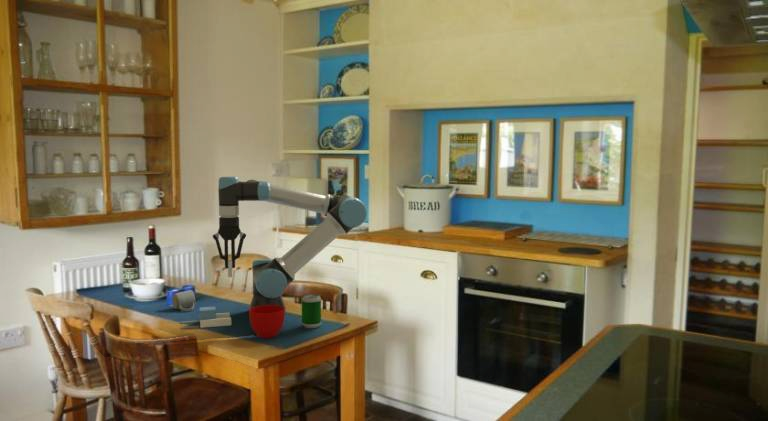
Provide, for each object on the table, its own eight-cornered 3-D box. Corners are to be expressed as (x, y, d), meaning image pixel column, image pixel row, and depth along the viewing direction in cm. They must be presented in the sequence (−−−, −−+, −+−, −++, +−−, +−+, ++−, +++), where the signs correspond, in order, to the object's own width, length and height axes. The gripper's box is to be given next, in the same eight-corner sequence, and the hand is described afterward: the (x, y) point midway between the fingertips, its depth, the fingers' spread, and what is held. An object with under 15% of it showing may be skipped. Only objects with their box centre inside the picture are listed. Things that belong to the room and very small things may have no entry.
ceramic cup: (265, 326, 246) (264, 301, 245) (292, 335, 234) (291, 308, 233) (236, 333, 237) (235, 307, 236) (263, 343, 225) (262, 315, 224)
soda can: (324, 327, 245) (324, 296, 244) (306, 329, 242) (306, 298, 241) (316, 322, 252) (316, 292, 251) (299, 325, 248) (298, 295, 247)
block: (215, 321, 250) (215, 306, 250) (216, 324, 245) (216, 309, 244) (199, 322, 248) (199, 307, 248) (200, 326, 243) (199, 310, 243)
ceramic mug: (171, 308, 275) (171, 290, 275) (189, 305, 280) (189, 288, 280) (180, 313, 267) (179, 295, 266) (198, 310, 272) (198, 293, 271)
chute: (229, 321, 254) (229, 312, 253) (231, 327, 245) (231, 318, 244) (181, 325, 248) (181, 316, 248) (181, 331, 239) (180, 322, 239)
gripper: (245, 215, 251) (246, 273, 253) (211, 215, 247) (212, 275, 249) (247, 216, 244) (248, 277, 246) (212, 217, 240) (213, 279, 242)
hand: (230, 276), depth 248 cm, fingers closed
